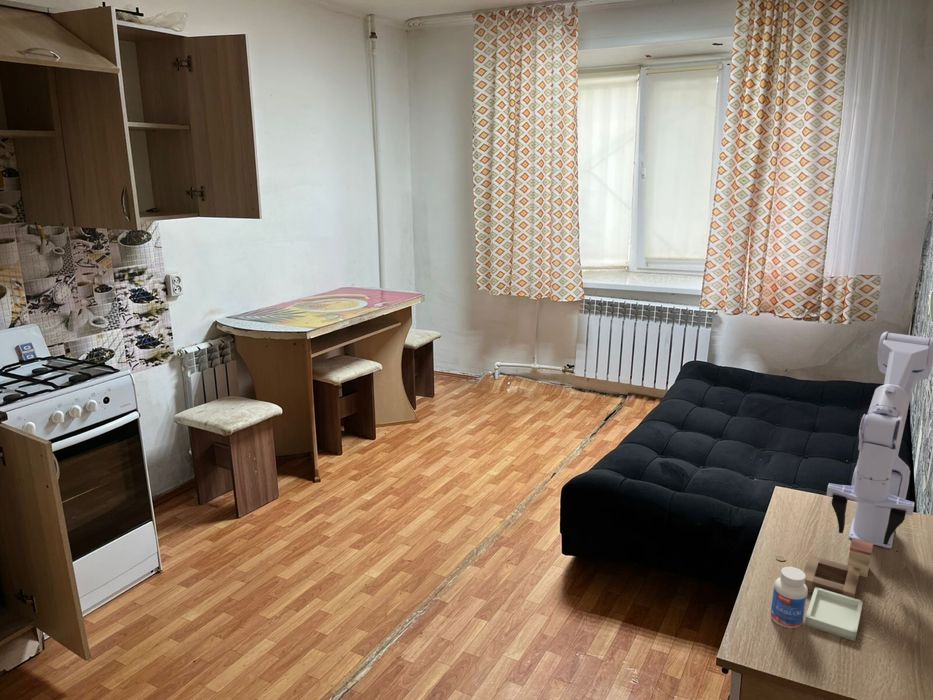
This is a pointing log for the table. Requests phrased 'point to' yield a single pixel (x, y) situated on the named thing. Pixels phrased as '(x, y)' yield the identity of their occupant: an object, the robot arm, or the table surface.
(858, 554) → the pink-ended wooden beam
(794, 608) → the pill bottle
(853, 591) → the wooden square frame
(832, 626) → the tray
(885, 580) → the table surface
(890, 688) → the table surface
